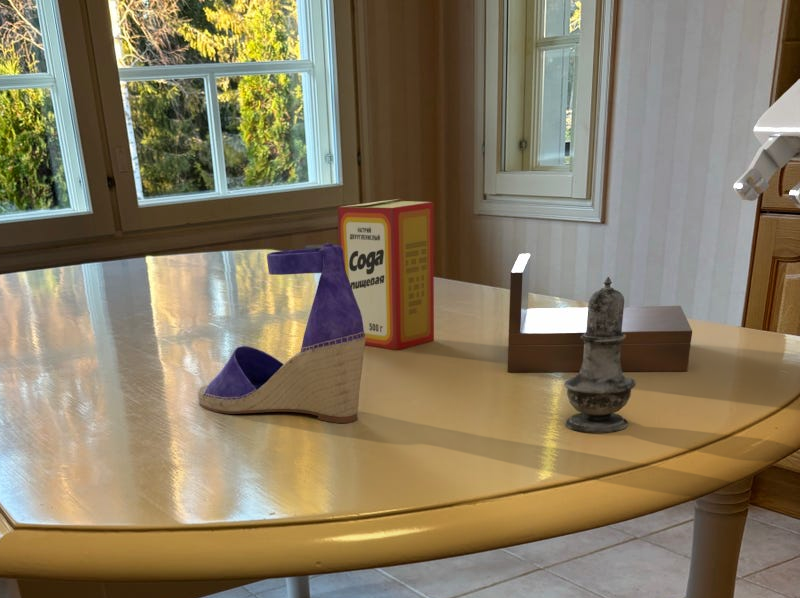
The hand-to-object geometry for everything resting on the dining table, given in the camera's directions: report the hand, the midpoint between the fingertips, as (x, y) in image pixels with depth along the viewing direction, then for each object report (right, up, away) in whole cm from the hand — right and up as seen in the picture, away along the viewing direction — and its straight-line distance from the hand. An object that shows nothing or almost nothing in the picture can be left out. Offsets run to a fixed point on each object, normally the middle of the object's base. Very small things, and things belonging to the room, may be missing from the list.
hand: (768, 199), depth 71 cm
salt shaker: (-11, -15, +9) cm, 21 cm away
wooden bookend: (-4, -3, +31) cm, 31 cm away
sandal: (-39, -12, +20) cm, 45 cm away
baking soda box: (-26, +4, +45) cm, 52 cm away
